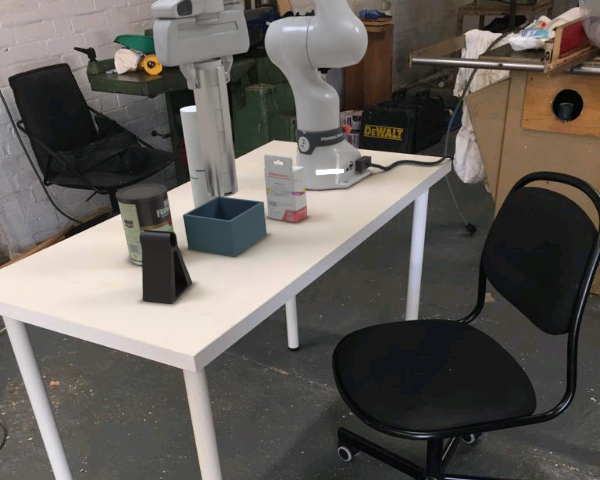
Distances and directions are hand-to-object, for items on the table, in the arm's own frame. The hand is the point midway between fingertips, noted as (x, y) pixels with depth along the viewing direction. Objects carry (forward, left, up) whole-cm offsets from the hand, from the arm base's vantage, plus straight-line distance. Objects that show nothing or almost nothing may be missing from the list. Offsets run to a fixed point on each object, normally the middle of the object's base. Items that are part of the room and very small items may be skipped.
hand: (209, 85), depth 124 cm
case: (0, 0, -32) cm, 32 cm away
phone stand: (+24, +10, -32) cm, 41 cm away
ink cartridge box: (-19, 0, -32) cm, 37 cm away
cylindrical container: (-7, -14, -32) cm, 35 cm away
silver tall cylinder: (0, 0, -21) cm, 21 cm away
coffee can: (+15, -7, -32) cm, 36 cm away
